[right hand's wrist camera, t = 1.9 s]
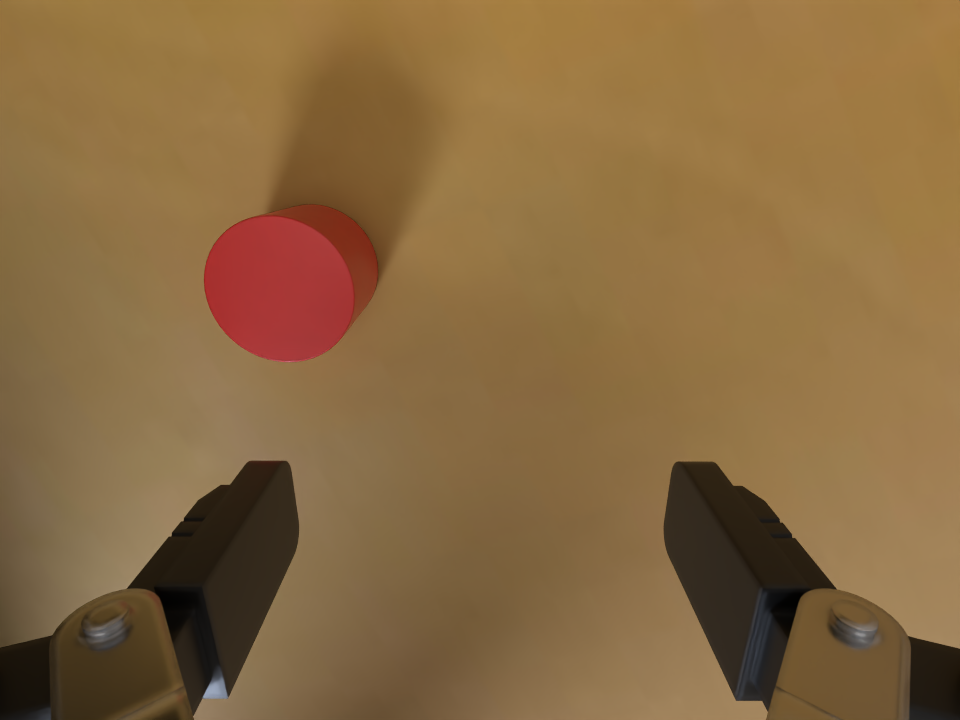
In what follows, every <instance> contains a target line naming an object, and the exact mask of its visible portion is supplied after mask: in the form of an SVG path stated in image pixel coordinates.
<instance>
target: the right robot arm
mask: <svg viewBox="0 0 960 720" xmlns="http://www.w3.org/2000/svg"><path fill="white" fill-rule="evenodd" d="M298 537H299V520H298V513H297V507H296V500H295V493H294V486H293V479H292V472H291V467H290V465H289V463H288V462H287V461H249V462H247V463H246V464H245V466H244V467H243V468H242V470H241V471H240V472H239V474H238V475H237V476H236V478H235V479H234V480H233V482H232V483H231V484H230V485H220V486H219V487H217V488H216V489H214V490H213V491H211V492H210V493H208V494H207V495H205V496H204V497H202V498H201V499H199V500H198V501H197V503H196V504H195V505H194V506H193V508H192V509H191V510H190V511H189V512H188V514H187V515H186V516H185V517H184V522H180V524H179V525H178V526H177V527H176V529H175V530H174V531H173V532H172V536H171V537H168V538H167V540H166V541H165V542H164V543H163V545H162V546H161V547H160V548H159V550H158V551H157V552H156V553H155V555H154V556H153V557H152V558H151V559H150V561H149V562H148V563H147V564H146V566H145V567H144V568H143V569H142V571H141V572H140V573H139V574H138V576H137V577H136V578H135V579H134V580H133V582H132V583H131V584H130V585H129V587H128V588H127V589H125V590H119V591H115V592H112V593H109V594H106V595H103V596H101V597H98V598H96V599H94V600H92V601H90V602H88V603H86V604H85V605H83V606H82V607H80V608H78V609H77V610H76V611H74V612H73V613H72V614H70V615H69V616H68V617H67V618H66V619H65V620H64V621H63V622H62V623H61V624H60V625H59V626H58V628H57V629H56V631H55V632H54V634H53V635H52V636H48V637H44V638H40V639H35V640H31V641H27V642H23V643H19V644H14V645H10V646H6V647H2V648H0V720H194V718H193V716H194V714H195V712H196V710H197V708H198V706H199V704H200V702H201V700H202V698H228V697H229V695H230V693H231V691H232V689H233V686H234V684H235V682H236V680H237V678H238V676H239V673H240V671H241V669H242V667H243V665H244V663H245V660H246V658H247V656H248V654H249V652H250V650H251V647H252V645H253V643H254V641H255V639H256V637H257V634H258V632H259V630H260V628H261V626H262V624H263V621H264V619H265V617H266V615H267V613H268V611H269V608H270V606H271V604H272V602H273V600H274V598H275V595H276V593H277V591H278V589H279V587H280V585H281V582H282V580H283V578H284V576H285V574H286V572H287V569H288V567H289V565H290V563H291V561H292V559H293V556H294V554H295V551H296V548H297V544H298ZM664 540H665V546H666V550H667V553H668V556H669V558H670V560H671V562H672V564H673V566H674V569H675V571H676V573H677V575H678V577H679V579H680V581H681V584H682V586H683V588H684V590H685V592H686V594H687V596H688V599H689V601H690V603H691V605H692V607H693V609H694V611H695V614H696V616H697V618H698V620H699V622H700V624H701V626H702V629H703V631H704V633H705V635H706V637H707V639H708V641H709V644H710V646H711V648H712V650H713V652H714V654H715V656H716V659H717V661H718V663H719V665H720V667H721V669H722V671H723V674H724V676H725V678H726V680H727V682H728V684H729V686H730V688H731V691H732V693H733V695H734V697H735V699H736V701H763V703H764V705H765V707H766V709H767V711H768V714H767V718H766V720H960V649H959V648H954V647H950V646H946V645H942V644H938V643H933V642H929V641H925V640H921V639H917V638H913V637H909V636H908V635H907V634H906V632H905V631H904V629H903V628H902V626H901V625H900V624H899V623H898V622H897V621H896V620H895V619H894V618H893V617H892V616H891V615H890V614H888V613H887V612H886V611H884V610H883V609H882V608H880V607H878V606H877V605H875V604H874V603H872V602H870V601H868V600H866V599H864V598H862V597H859V596H857V595H854V594H851V593H848V592H845V591H841V590H837V589H836V588H835V586H834V585H833V584H832V583H831V582H830V580H829V579H828V578H827V577H826V575H825V574H824V573H823V572H822V570H821V569H820V568H819V567H818V566H817V564H816V563H815V562H814V561H813V559H812V558H811V557H810V556H809V555H808V553H807V552H806V551H805V550H804V548H803V547H802V546H801V545H800V544H799V542H798V541H797V540H796V539H795V538H792V534H791V533H790V531H789V530H788V529H787V528H786V526H785V525H784V524H783V523H780V519H779V518H778V517H777V515H776V514H775V513H774V512H773V510H772V509H771V508H770V507H769V506H768V504H767V503H766V502H765V501H764V500H762V499H761V498H759V497H758V496H756V495H755V494H753V493H752V492H750V491H749V490H748V489H746V488H745V487H743V486H733V485H732V484H731V482H730V481H729V480H728V478H727V477H726V476H725V474H724V473H723V472H722V470H721V469H720V468H719V466H718V465H717V464H716V463H714V462H676V463H675V464H674V466H673V468H672V472H671V479H670V486H669V492H668V499H667V506H666V513H665V520H664Z"/></svg>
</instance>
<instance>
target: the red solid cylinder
mask: <svg viewBox="0 0 960 720" xmlns="http://www.w3.org/2000/svg"><path fill="white" fill-rule="evenodd" d="M377 279H378V264H377V258H376V254H375V251H374V248H373V246H372V244H371V242H370V240H369V238H368V237H367V235H366V234H365V232H364V231H363V230H362V229H361V228H360V226H359V225H358V224H357V223H356V222H354V221H353V220H352V219H351V218H349V217H348V216H347V215H345V214H343V213H341V212H339V211H338V210H335V209H332V208H330V207H326V206H322V205H313V204H311V205H300V206H295V207H291V208H287V209H283V210H279V211H275V212H271V213H267V214H263V215H259V216H255V217H251V218H248V219H245V220H243V221H241V222H239V223H237V224H235V225H233V226H232V227H230V228H229V229H227V230H226V231H225V232H224V233H223V234H222V235H221V236H220V237H219V238H218V240H217V241H216V242H215V244H214V245H213V247H212V249H211V251H210V253H209V256H208V259H207V262H206V266H205V273H204V286H205V293H206V298H207V301H208V304H209V307H210V310H211V312H212V314H213V316H214V318H215V319H216V321H217V323H218V324H219V326H220V327H221V328H222V329H223V331H224V332H225V333H226V334H227V335H228V336H229V337H230V338H231V339H232V340H233V341H234V342H236V343H237V344H238V345H239V346H241V347H242V348H244V349H245V350H247V351H249V352H251V353H253V354H255V355H257V356H259V357H262V358H265V359H269V360H273V361H280V362H298V361H305V360H308V359H312V358H315V357H317V356H319V355H321V354H323V353H325V352H326V351H328V350H329V349H331V348H332V347H333V346H334V345H335V344H337V342H338V341H339V340H340V339H341V338H342V337H343V335H344V334H345V333H346V332H347V330H348V329H349V328H350V326H351V325H352V324H353V323H354V321H355V320H356V319H357V317H358V316H359V315H360V313H361V312H362V311H363V310H364V308H365V307H366V306H367V304H368V303H369V301H370V300H371V298H372V296H373V294H374V291H375V288H376V285H377Z"/></svg>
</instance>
